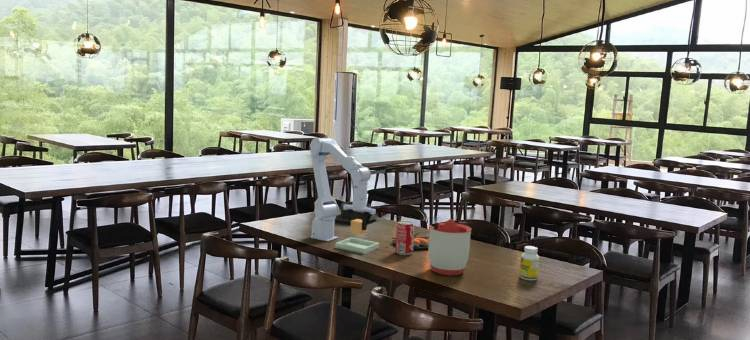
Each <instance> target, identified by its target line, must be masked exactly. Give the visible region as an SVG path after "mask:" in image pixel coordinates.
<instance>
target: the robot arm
mask: <svg viewBox="0 0 750 340" xmlns="http://www.w3.org/2000/svg"><path fill="white" fill-rule="evenodd" d="M309 149H310V154H311V157H310V158H311V164H312V169H313V173H314V179H315V187H316V191H317V197H318V198H316V200H315V201H314V211H313V212H314V215H315V217H314V218H313V219H312V221H311V236H310V239H315V240H319V241H325V242H330V241H333V240H336V239H338V238H339V237H338V236H335V221H336V220H335V218H336V216H337V215H339V213H340V209H339V207H340V206H339V205H338V204H337V201H336V198H335V197H333V196H332V195H331V189H330V185H329V178H328V172H327V167H326V162H325V160H326V159H327V158H328V157H329V156H330V155H332V156H334V157H335V158H336V159H337V160H339V161H340V162H341V166H342V168H343V169H344V170H345V171H347V172H348V174H350V178H351V181H352V186H353V189H352V190H353V192H352V202H353V205H348V204H345V205H343V209H344V210H346V209H347V210H348V211H346V214H347V216H348V218H349V222H348V223H349V226H350V227H351V221H352V220H355V219H356V214H357V211H358V212H364V213H363V214H361V217H362V230H366V228H367V229H368V224H369V222H370V221H369V220H370V218H371V216H372V214H375V215H377V214H376V208H373V207H372V208H373V209H372V208H369V207H366V204H367V201H368V186H369V185H368V182H369V180H370V179H371V177H372V172H371V170H370V168H369V167H367V166H363V165H362V164H361V163H360V162H358V161H357V160H356V158H355V157H354V156H351V155H347V154H346V153H345V151H343V150H342V148H341V147H340V146H339V145H338V141H336V139H334V138H333V137H332V136H331V137H314V138H312V140H311V141H310V144H309Z"/></svg>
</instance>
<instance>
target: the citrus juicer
mask: <svg viewBox="0 0 750 340" xmlns="http://www.w3.org/2000/svg"><path fill="white" fill-rule="evenodd" d="M428 227H429V228H428V229H429V231H428V232H426V235H425V237H429V249H428V252H427V253H428V260H429V266H430V268H431V271H432V272H434V273H437V274H439V275H444V276H445V275H446V276H448V277H449V276H450V277H452V276H459V275H462V274H463V272H464V270H465V269H466V266H467V263H468V261H469V257H470V256H469V255H470V247H471V246H470V245H471V244H470V243H471V234H472V230H473V229H472V227H470V226H469V225H466V224H462V223H457V222H456V221H454V220H453V219H452V218H450V219H448V220H447V221H446V222H437V229H435V227H434V226H432V225H431V224H430V225H429V226H428Z"/></svg>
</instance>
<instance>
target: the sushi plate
mask: <svg viewBox="0 0 750 340" xmlns="http://www.w3.org/2000/svg"><path fill="white" fill-rule="evenodd" d="M419 234H421V232H419V231H418V232H417V233H414V241H413V250H427V249H429V236H424V237H423V236H422V237H421V236H418V237H417V235H419ZM415 236H416V237H415ZM391 238H392V243H393V244H395V245H396V237H391Z"/></svg>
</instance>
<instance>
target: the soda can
mask: <svg viewBox="0 0 750 340" xmlns="http://www.w3.org/2000/svg"><path fill="white" fill-rule="evenodd" d="M395 231H396V235H395V238H396V239H395V240H396V244H395V253H396V254H398V255H399V256H410V255H412V254H413V252H414V249H413V241H414V239H415V238H414V237H415V236H414V235H415V226H414V222H412V221H410V220H399V221H397V224H396V230H395Z"/></svg>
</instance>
